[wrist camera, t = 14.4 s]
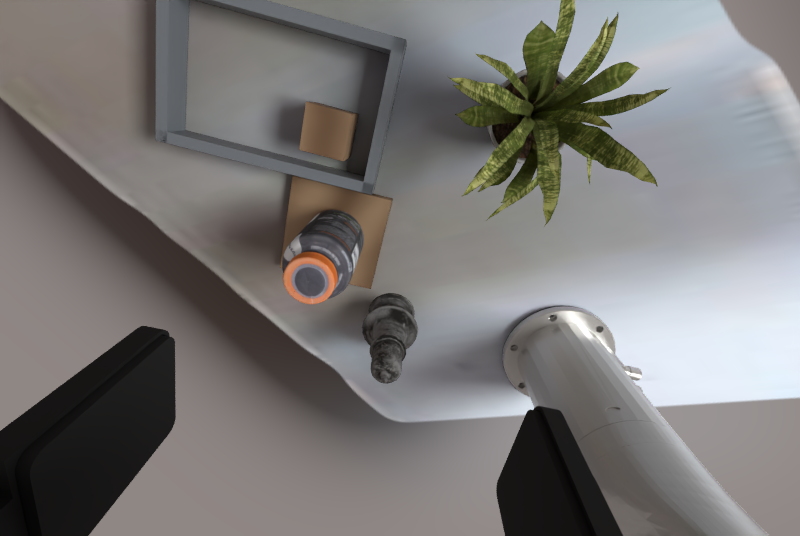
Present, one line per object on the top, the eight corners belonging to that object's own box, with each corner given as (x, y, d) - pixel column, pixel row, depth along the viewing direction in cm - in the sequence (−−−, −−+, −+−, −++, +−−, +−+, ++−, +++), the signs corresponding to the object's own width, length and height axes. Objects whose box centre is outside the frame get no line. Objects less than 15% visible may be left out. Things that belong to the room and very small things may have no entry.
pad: (392, 198, 39) (392, 200, 38) (371, 285, 43) (370, 289, 42) (295, 174, 38) (292, 175, 37) (282, 264, 42) (279, 267, 41)
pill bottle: (296, 225, 39) (253, 266, 29) (345, 197, 38) (318, 230, 28) (327, 272, 41) (298, 327, 31) (375, 248, 40) (361, 296, 29)
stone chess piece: (370, 338, 45) (357, 411, 34) (362, 293, 43) (344, 357, 32) (419, 333, 45) (422, 406, 34) (413, 288, 43) (414, 350, 32)
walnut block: (358, 113, 36) (352, 114, 32) (350, 156, 38) (343, 161, 34) (316, 102, 36) (306, 101, 32) (310, 145, 37) (299, 149, 34)
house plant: (409, 49, 34) (407, -1, 19) (567, -13, 32) (707, -125, 17) (453, 201, 39) (479, 258, 24) (592, 156, 37) (718, 187, 22)
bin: (406, 45, 34) (405, 39, 31) (374, 188, 39) (371, 195, 36) (178, -19, 32) (156, -31, 30) (174, 138, 37) (155, 140, 34)
